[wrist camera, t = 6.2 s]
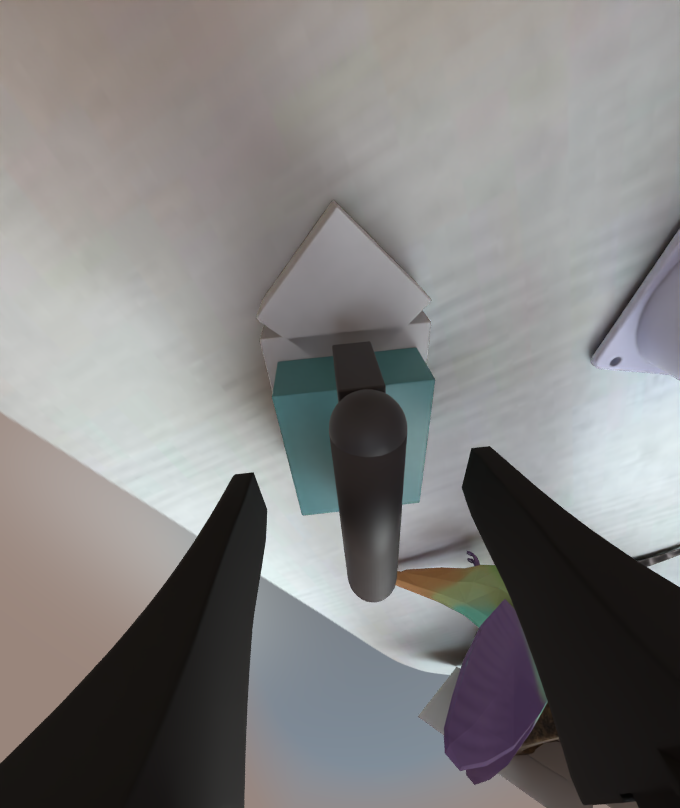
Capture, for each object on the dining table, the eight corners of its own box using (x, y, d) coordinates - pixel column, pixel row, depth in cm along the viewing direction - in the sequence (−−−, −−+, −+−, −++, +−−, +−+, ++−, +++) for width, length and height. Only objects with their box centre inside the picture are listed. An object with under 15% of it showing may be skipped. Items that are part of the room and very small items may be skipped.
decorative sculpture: (578, 568, 31) (744, 819, 19) (393, 606, 33) (441, 853, 21) (618, 453, 21) (1025, 836, 9) (349, 519, 23) (392, 899, 11)
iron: (406, 449, 19) (461, 612, 12) (297, 461, 19) (290, 631, 12) (426, 190, 11) (609, 238, 4) (239, 209, 11) (127, 286, 4)
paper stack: (738, 944, 23) (738, 932, 23) (417, 716, 39) (418, 710, 39) (677, 743, 41) (677, 737, 41) (474, 643, 57) (474, 639, 57)
